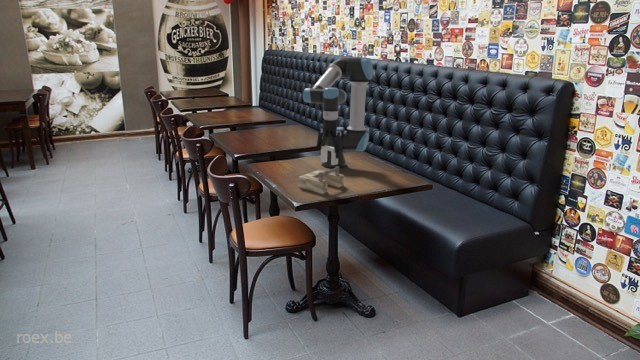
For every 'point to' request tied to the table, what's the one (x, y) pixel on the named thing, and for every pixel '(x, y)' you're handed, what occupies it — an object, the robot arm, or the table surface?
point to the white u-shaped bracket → (324, 154)
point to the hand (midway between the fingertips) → (329, 162)
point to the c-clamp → (321, 180)
